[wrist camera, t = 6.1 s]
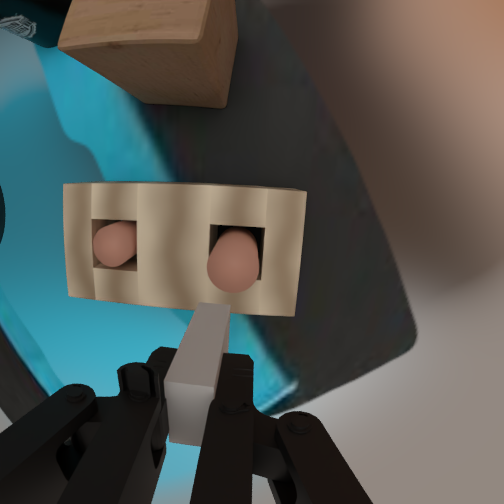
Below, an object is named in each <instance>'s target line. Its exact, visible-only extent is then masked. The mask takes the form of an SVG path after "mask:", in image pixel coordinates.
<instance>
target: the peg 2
mask: <svg viewBox="0 0 504 504" xmlns="http://www.w3.org/2000/svg"><path fill="white" fill-rule="evenodd" d="M207 273H208V276H209V279H210V280H211V282H212V283H213V284H214V285H215V286H216V287H217V288H218V289H220V290H222V291H224V292H228V293H238V292H242V291H245V290H247V289H248V288H250V287H251V286H252V285H253V284H254V282H255V281H256V279H257V277H258V274H259V260H258V249H257V241H256V239H255V237H254V235H253V234H252V233H251V232H250V231H249V230H247V229H245V228H243V227H231V228H229V229H227V230H225V231H224V232H223V233H222V234H221V235H220V237H219V239H218V241H217V243H216V245H215V247H214V248H213V250H212V252H211V254H210V256H209V258H208V261H207Z"/></svg>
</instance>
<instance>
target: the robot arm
mask: <svg viewBox="0 0 504 504" xmlns="http://www.w3.org/2000/svg"><path fill="white" fill-rule="evenodd" d="M4 227H5V203H4V197H3V193H2V189H1V186H0V243H1V240H2V237H3V233H4ZM230 307H231V305H226V304H214V303H203V302H199V303H198V306H197V308H196V310H195V312H194V314H193V317H192V319H191V321H190V323H189V325H188V328H187V330H186V332H185V334H184V336H183V339H182V341H181V343H180V345H179V348H178V349H176V348H168V347H159V348H158V349H156V350H155V351H153V352H152V353H151V355H150V357H149V359H148V361H147V362H146V363H138V362H134V363H128V364H125V365H123V366H121V367H120V368H119V369H118V370H117V374H118V381H119V387H120V392H119V394H118V396H112V397H96V395H95V392H94V390H93V389H92V388H90V387H89V386H87V385H84V384H70V385H66V386H64V387H63V388H61V389H59V390H58V391H57V392H55V393H54V394H53V395H51V396H50V397H49V398H47V399H46V400H45V401H43V402H42V403H40V404H39V405H38V406H36V407H35V408H34V409H32V410H31V411H30V412H28V413H27V414H26V415H24V416H23V417H22V418H20V419H19V420H17V421H16V422H15V423H13V424H12V425H11V426H9V427H8V428H7V429H5V430H4V431H3V432H1V433H0V504H151V502H152V498H153V495H154V492H155V489H156V485H157V482H158V478H159V475H160V472H161V469H162V465H163V462H164V459H165V455H166V443H165V442H166V439H167V436H168V433H169V442H172V443H179V444H185V445H193V446H200V447H201V450H200V454H199V459H198V464H197V469H196V474H195V479H194V484H193V489H192V494H191V500H190V504H252V474H255V475H259V476H262V477H265V478H267V479H268V483H269V486H270V489H271V491H272V494H273V497H274V499H275V502H276V504H373V503H372V502H371V500H370V498H369V497H368V495H367V494H366V492H365V491H364V489H363V487H362V486H361V485H360V483H359V482H358V480H357V478H356V477H355V475H354V473H353V472H352V470H351V469H350V467H349V466H348V464H347V462H346V461H345V459H344V458H343V456H342V455H341V453H340V452H339V450H338V448H337V447H336V445H335V443H334V442H333V441H332V439H331V437H330V435H329V434H328V432H327V431H326V429H325V428H324V426H323V424H322V423H321V421H320V420H319V419H318V418H317V417H316V416H313V415H312V414H310V413H306V412H302V411H292V412H289V413H285V414H284V415H282V416H281V417H279V419H276V418H273V417H270V416H267V415H264V414H263V413H261V412H259V411H258V410H257V409H256V408H255V406H254V404H253V369H254V362H253V360H252V359H251V358H250V356H249V355H245V354H233V353H228V343H229V325H230ZM68 438H70V439H69V440H68V441H67V442H65V441H66V440H67V439H68ZM64 442H65V443H64Z"/></svg>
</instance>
